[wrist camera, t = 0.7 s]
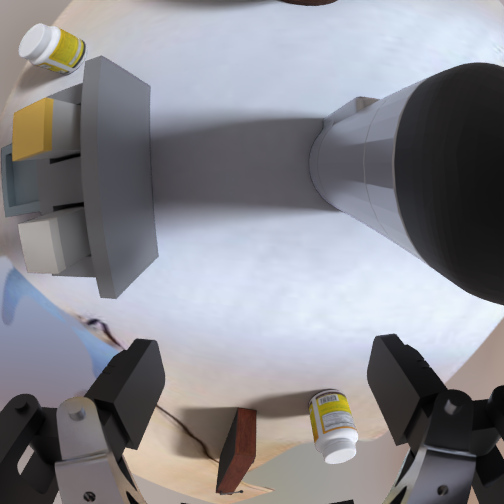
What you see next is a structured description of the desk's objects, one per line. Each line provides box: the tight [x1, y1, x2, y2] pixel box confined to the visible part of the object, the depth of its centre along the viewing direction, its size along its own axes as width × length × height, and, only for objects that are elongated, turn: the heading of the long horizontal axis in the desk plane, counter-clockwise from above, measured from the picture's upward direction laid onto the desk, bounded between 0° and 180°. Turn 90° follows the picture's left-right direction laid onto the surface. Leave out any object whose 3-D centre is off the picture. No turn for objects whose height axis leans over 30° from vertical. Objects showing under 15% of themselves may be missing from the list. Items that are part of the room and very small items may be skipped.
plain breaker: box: [18, 205, 91, 274], centre depth 20 cm, size 4×4×8 cm
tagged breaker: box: [12, 98, 81, 161], centre depth 17 cm, size 4×4×8 cm
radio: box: [216, 408, 256, 495], centre depth 30 cm, size 19×3×15 cm, turn 166°
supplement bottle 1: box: [19, 23, 87, 74], centre depth 17 cm, size 5×5×8 cm
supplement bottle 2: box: [308, 390, 358, 464], centre depth 29 cm, size 6×6×10 cm
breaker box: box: [36, 56, 158, 299], centre depth 21 cm, size 18×10×10 cm, turn 1°
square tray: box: [1, 144, 40, 217], centre depth 24 cm, size 9×9×2 cm
